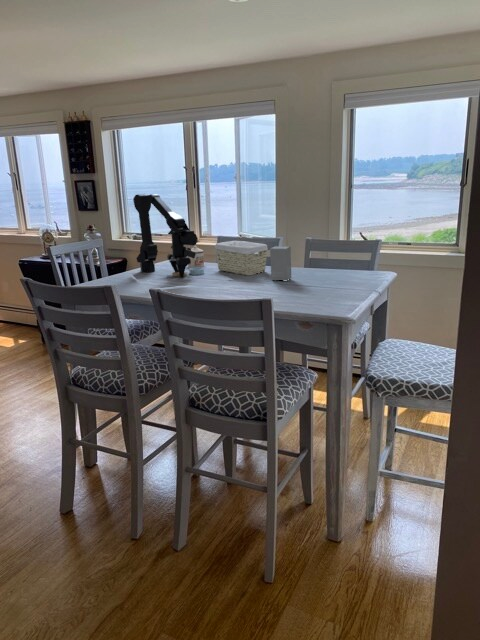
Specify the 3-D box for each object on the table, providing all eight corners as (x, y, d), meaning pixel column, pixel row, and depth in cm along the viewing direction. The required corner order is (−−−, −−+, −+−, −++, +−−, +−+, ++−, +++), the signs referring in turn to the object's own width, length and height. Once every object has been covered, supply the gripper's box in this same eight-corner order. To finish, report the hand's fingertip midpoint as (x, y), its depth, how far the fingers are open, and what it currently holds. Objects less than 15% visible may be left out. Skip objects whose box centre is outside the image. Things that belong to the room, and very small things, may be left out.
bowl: (192, 277, 233) (192, 270, 232) (187, 275, 240) (187, 268, 239) (206, 276, 236) (205, 269, 235) (201, 273, 242) (200, 266, 241)
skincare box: (291, 279, 225) (292, 246, 220) (286, 282, 218) (287, 248, 214) (275, 278, 228) (275, 245, 224) (269, 281, 222) (269, 247, 217)
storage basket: (269, 272, 244) (269, 243, 239) (247, 277, 233) (247, 247, 228) (236, 266, 260) (235, 240, 255) (214, 271, 248) (213, 243, 244)
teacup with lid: (196, 269, 254) (195, 247, 251) (184, 267, 260) (183, 246, 256) (211, 265, 263) (210, 245, 260) (199, 264, 269) (198, 243, 265)
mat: (173, 280, 225) (172, 278, 225) (166, 277, 234) (166, 275, 233) (192, 278, 229) (192, 276, 229) (186, 275, 238) (186, 273, 237)
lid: (174, 278, 226) (174, 274, 226) (170, 275, 233) (170, 272, 232) (188, 276, 229) (188, 273, 229) (184, 274, 235) (184, 271, 235)
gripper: (200, 245, 222) (201, 277, 226) (187, 241, 238) (188, 271, 242) (177, 246, 217) (179, 280, 222) (166, 242, 233) (168, 273, 238)
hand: (179, 276), depth 231 cm, fingers closed on lid, 7 cm apart
